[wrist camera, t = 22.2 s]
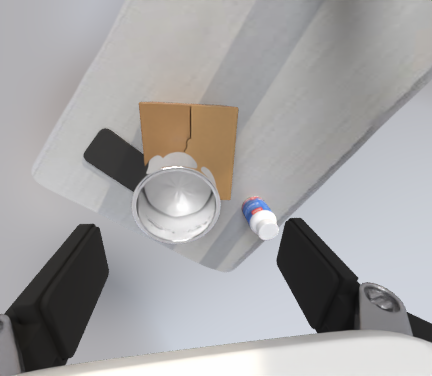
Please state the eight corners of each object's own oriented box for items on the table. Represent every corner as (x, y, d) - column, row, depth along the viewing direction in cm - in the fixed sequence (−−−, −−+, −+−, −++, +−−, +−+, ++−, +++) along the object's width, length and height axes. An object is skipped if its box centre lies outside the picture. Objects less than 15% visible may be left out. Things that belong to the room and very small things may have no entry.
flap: (237, 107, 27) (238, 107, 27) (229, 198, 33) (230, 199, 32) (191, 105, 26) (191, 105, 26) (191, 199, 32) (191, 200, 32)
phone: (103, 125, 34) (173, 177, 40) (105, 124, 35) (174, 176, 41) (80, 157, 36) (151, 203, 41) (82, 156, 37) (151, 201, 42)
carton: (224, 105, 36) (239, 107, 27) (220, 177, 42) (230, 200, 32) (150, 101, 34) (138, 102, 25) (156, 178, 40) (147, 202, 30)
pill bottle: (251, 191, 44) (268, 214, 35) (268, 202, 46) (289, 227, 37) (236, 209, 46) (249, 236, 37) (253, 220, 47) (269, 247, 39)
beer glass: (158, 181, 29) (138, 251, 16) (150, 133, 27) (117, 168, 13) (205, 177, 30) (224, 240, 17) (203, 130, 27) (222, 160, 14)
